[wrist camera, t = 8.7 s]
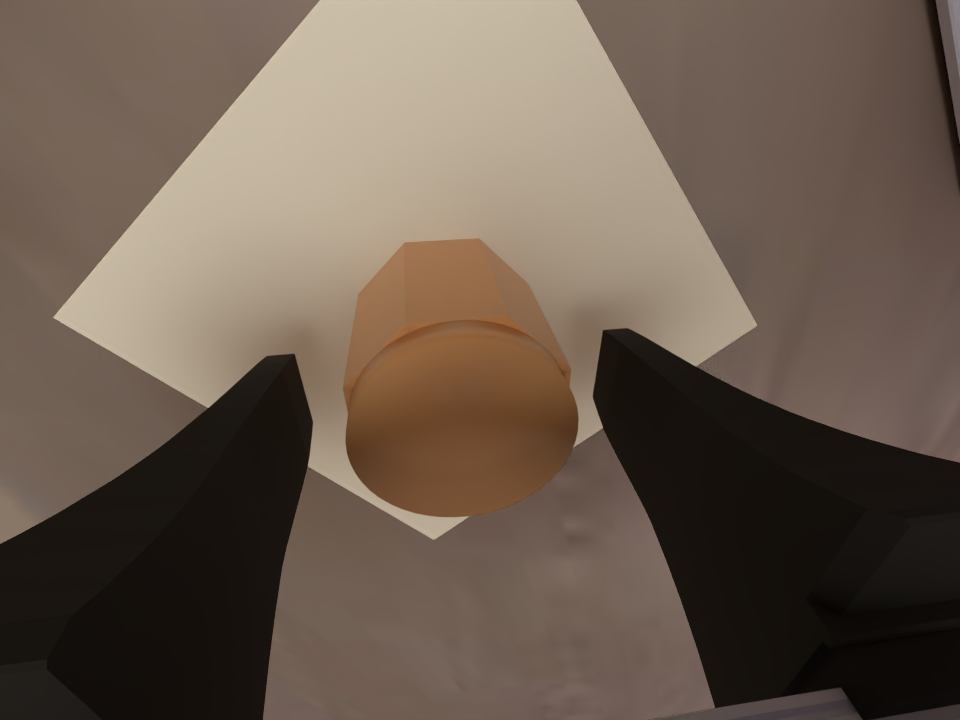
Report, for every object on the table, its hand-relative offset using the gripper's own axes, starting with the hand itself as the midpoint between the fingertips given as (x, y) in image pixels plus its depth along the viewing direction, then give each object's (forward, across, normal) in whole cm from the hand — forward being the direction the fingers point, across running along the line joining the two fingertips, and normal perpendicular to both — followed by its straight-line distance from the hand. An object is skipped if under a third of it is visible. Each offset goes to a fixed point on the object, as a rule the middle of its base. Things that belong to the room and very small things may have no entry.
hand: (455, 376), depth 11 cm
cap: (+3, 0, 0) cm, 3 cm away
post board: (+4, 0, 0) cm, 4 cm away
